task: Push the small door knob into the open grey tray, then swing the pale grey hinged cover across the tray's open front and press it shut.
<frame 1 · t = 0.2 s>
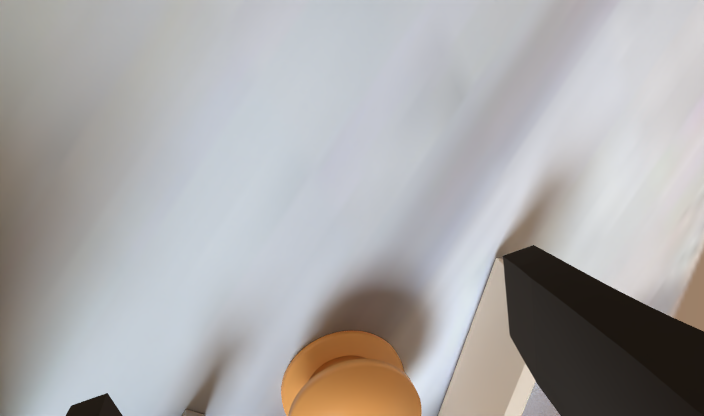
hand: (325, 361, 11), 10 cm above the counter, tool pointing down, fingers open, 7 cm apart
door knob: (342, 381, 24), on the counter
cover: (479, 402, 23), point 2 cm above the counter, hinge at 75.0°
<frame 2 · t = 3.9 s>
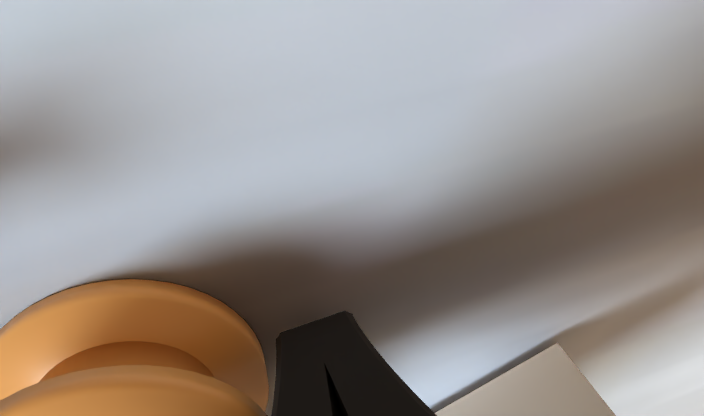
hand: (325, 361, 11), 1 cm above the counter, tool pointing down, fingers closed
door knob: (130, 388, 11), on the counter, touching gripper
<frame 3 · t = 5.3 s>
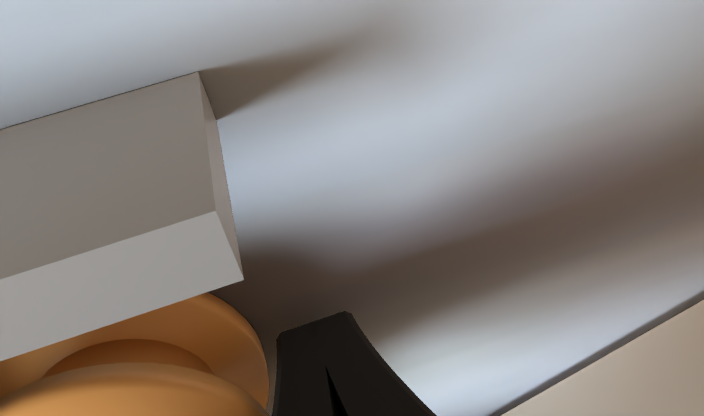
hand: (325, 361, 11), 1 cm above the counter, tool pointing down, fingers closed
door knob: (131, 386, 11), on the counter, touching gripper
open grey tray: (92, 401, 11), on the counter
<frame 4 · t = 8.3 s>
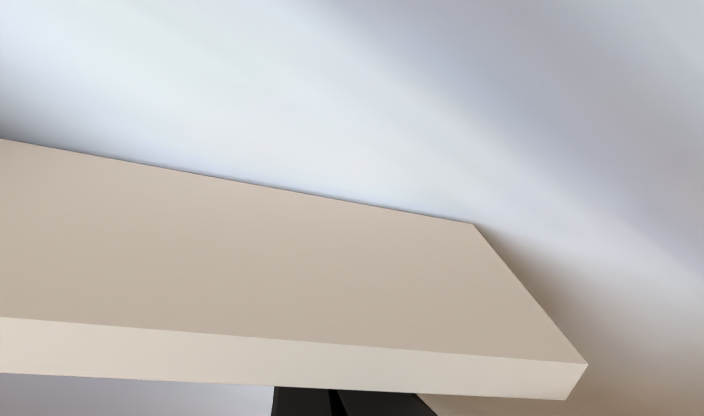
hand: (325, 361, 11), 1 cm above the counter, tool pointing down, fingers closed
cover: (188, 254, 8), point 2 cm above the counter, hinge at 74.6°, touching gripper
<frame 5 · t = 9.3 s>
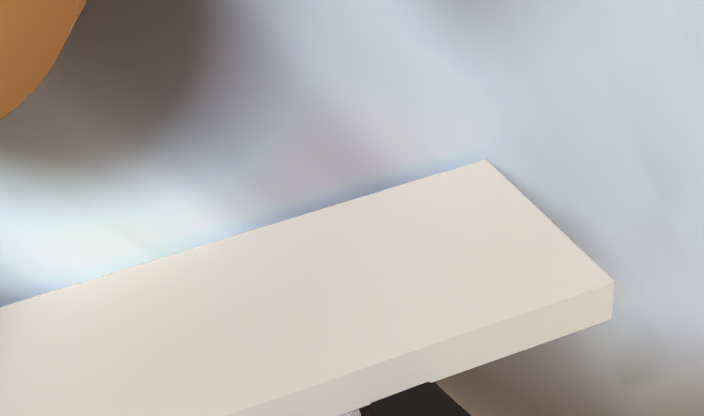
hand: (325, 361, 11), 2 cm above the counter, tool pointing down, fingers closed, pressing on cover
cover: (214, 328, 9), point 2 cm above the counter, hinge at 31.3°, touching gripper
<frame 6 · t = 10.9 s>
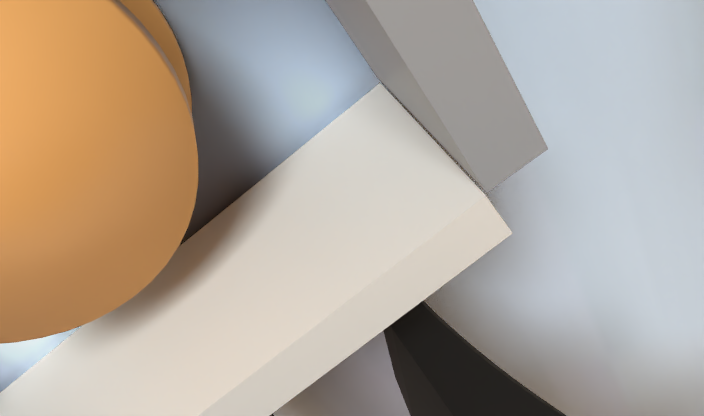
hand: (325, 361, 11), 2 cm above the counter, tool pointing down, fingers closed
door knob: (12, 95, 9), on the counter
cover: (148, 366, 9), point 2 cm above the counter, hinge at -2.4°, touching gripper
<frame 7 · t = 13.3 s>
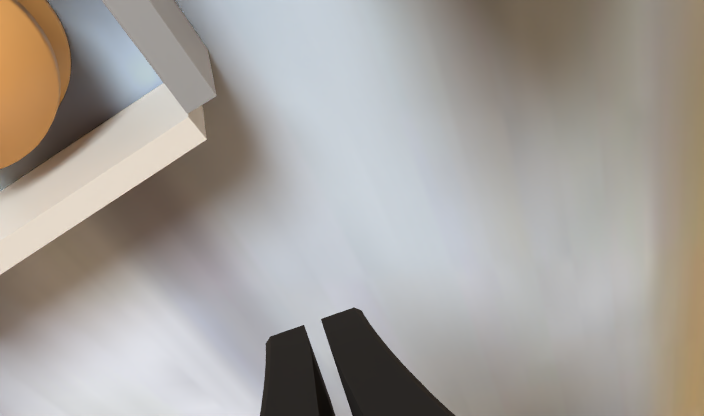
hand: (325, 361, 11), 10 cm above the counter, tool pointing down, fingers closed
cover: (29, 209, 16), point 2 cm above the counter, hinge at -2.1°
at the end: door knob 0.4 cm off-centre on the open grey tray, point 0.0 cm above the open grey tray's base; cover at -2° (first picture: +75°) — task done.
